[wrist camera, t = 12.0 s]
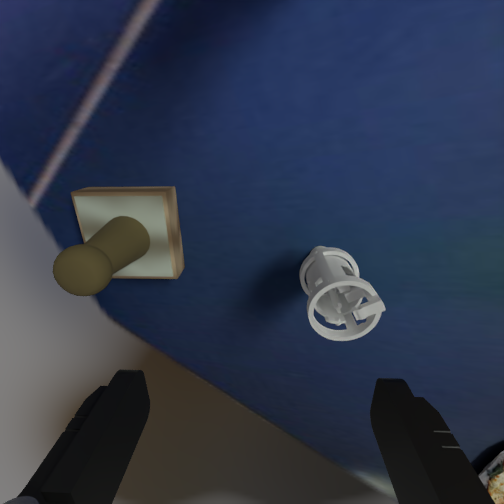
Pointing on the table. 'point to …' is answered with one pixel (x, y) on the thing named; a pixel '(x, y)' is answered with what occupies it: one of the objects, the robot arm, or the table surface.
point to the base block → (146, 212)
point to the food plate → (494, 478)
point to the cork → (101, 256)
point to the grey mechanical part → (338, 294)
